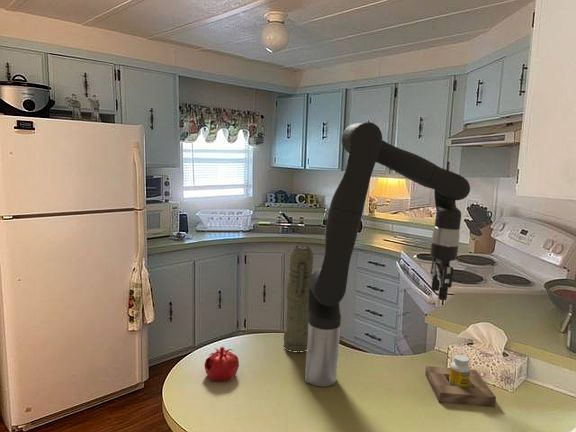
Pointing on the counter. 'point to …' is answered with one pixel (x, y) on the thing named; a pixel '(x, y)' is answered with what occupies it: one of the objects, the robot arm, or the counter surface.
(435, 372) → the walnut holder
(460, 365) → the supplement bottle
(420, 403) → the counter surface
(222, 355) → the pomegranate
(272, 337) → the counter surface
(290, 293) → the thermos
